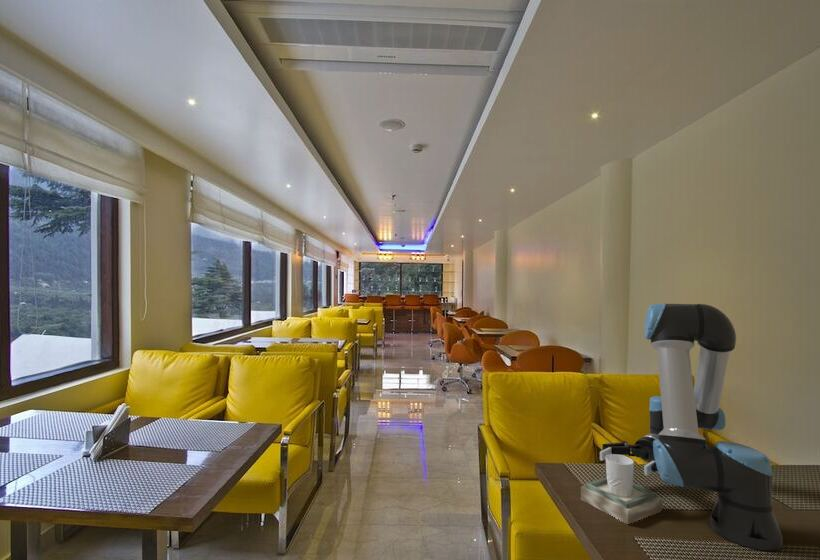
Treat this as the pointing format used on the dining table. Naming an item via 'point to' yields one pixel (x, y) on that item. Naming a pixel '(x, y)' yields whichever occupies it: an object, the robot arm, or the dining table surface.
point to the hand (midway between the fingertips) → (622, 463)
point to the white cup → (619, 474)
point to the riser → (622, 501)
